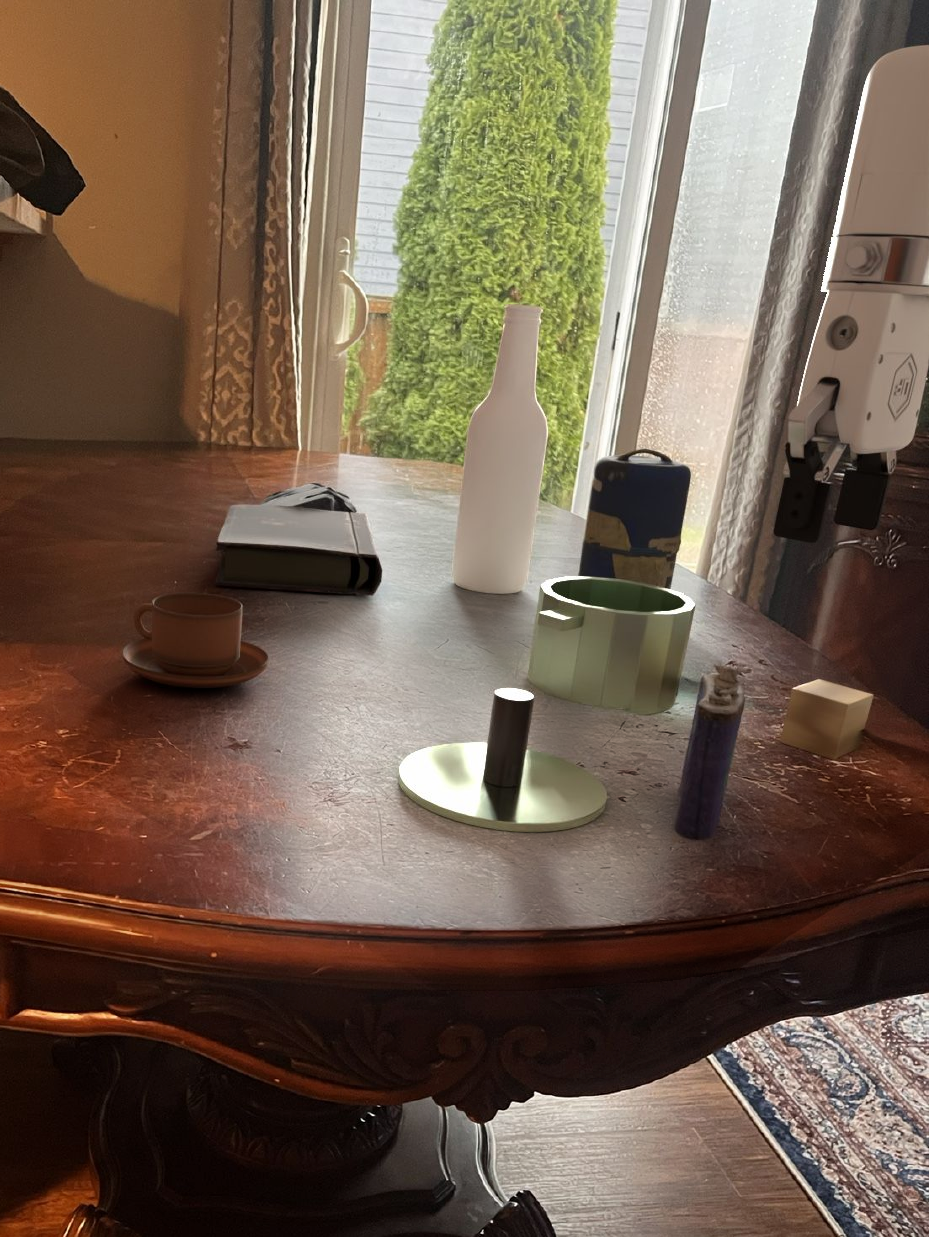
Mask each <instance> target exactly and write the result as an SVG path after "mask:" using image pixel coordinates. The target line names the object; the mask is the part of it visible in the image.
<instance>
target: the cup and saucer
mask: <svg viewBox="0 0 929 1237" xmlns="http://www.w3.org/2000/svg"><path fill="white" fill-rule="evenodd" d="M146 612H150V613H151V631H149V630H147V629H145V627H144V625H143V623H142V617H143V614H144V613H146ZM133 623H134V628H135V630H136V631H137V633H138V634H139V635H140V636H141V637H142V638H140V639H137V640H134V641H132V642H130V643H129V644H127V645H126V646H124V648H123V649H122V660H123V662H124V663H125V665H126V666H127V667H128V668H129V669H130V670H131V671H132V672H134V673H135V674H136V675H138V676H140V677H142V678H144V679H147V680H149V681H152V682H155V683H159V684H163V685H166V686H173V687H179V688H187V689H188V688H190V689H214V688H224V687H229V686H235V685H240V684H242V683H246V682H248V681H250V680H252V679H254V678H257V676H259V675H260V674H261V673H262V672H264V670H266V668H267V667H268V664H269V658H270V657H269V655H268V653H267V652H266V651H265V650H264V649H263V648H261V647H259V646H258V645H255V644H253V643H250V642H248V641H244V640H241V639H242V625H243V624H242V623H243V604H242V603H241V602H240V601H239V600H237V599H235V598H232V597H229V596H225V595H220V594H214V593H205V592H176V593H175V592H174V593H167V594H163V595H159V596H157V597H155V598H153V599H152V600H151V603H143V604H140V605H138V607H137V608H136V609H135V612H134V615H133Z"/></svg>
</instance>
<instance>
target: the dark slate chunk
mask: <svg viewBox="0 0 929 1237" xmlns="http://www.w3.org/2000/svg"><path fill="white" fill-rule="evenodd" d="M260 503H261V504H260V505H277V506H292V507H303V508H311V509H319V510H327V511H338V512H348V513H351V512H353V513H358V510H357V508H356V506H355V505H354V503H353V501H351V498H350V495H349V494H348V492H346V491H344V490H341V489H338V488H337V489H336V488H333V487H332V485H328V486H326V485H324V484H322V483H320V482H310V483H306V484H302V485H298V486H295V487H291V488H288V489H283V490H279V491H276V492H273V493H271V494H268V495H267V496H266V497H264V498H263V500H262V501H261V502H260Z"/></svg>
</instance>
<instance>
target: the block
mask: <svg viewBox="0 0 929 1237" xmlns="http://www.w3.org/2000/svg"><path fill="white" fill-rule="evenodd" d="M873 699H874V694H873V693H869V692H865V691H863V690H860V689H859V690H858V689H855V688H851V687H848V686H844V685H841V684H838V683H834V682H830V681H827V680H823V679H821V678H818V679H815V680H813V681H810V682H807V683H804V684H801V685H798V686H796V687H793V688H792V689H791V693H790V697H789V701H788V706H787V709H786V713H785V718H784V722H783V725H782V729H781V733H780V737H779V743H780V744H785V745H787V746H790V747H793V748H796V749H799V750H803V751H806V752H809V753H811V754H814V755H818V756H820V757H824V758H827V759H830V760H832V761H834V760H836V759H838V758H839V759H840V758H841V757H842V756H845V755H848V754H849V753H852V752H854V751H856V750H858V749H860V747H861V742H862V739H863V735H864V731H863V730H865V728H866V725H867V720H868V717H869V714H870V709H871V706H872V703H873Z"/></svg>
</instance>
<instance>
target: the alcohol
mask: <svg viewBox="0 0 929 1237" xmlns="http://www.w3.org/2000/svg"><path fill="white" fill-rule="evenodd" d="M504 311H505V313H504V316H503V317H502V322H503V327H502V333H501V337H500V343H499V347H498V351H497V352H498V353H497V358H496V362H495V368H494V373H493V379H492V384H491V387H490V389H489V390H488V391H489V392H488V394H487V396H486V397H485V398H484V399H483V400H482V401H481V402H480V404H478V406H476V408H475V409H474V411H473V412H472V415H471V417H470V420H469V423H468V426H467V432H466V441H465V449H464V450H465V451H464V458H463V468H462V475H461V484H460V493H459V501H458V503H459V504H458V509H457V510H458V512H457V518H456V519H457V520H456V528H455V538H454V547H453V555H452V562H451V572H450V575H451V578H452V579H453V582H454V584H455V585H456V586H457V587H459V588H462V589H464V590H469V591H472V592H478V593H483V594H484V593H485V594H495V595H498V594H499V595H507V594H514V593H515V594H516V593H519V592H520V591H522V590H523V588H525V586H526V585H527V583H528V578H529V571H530V565H531V564H530V563H531V556H532V551H533V543H534V538H535V537H534V536H535V529H536V523H537V515H538V508H539V501H540V493H541V486H542V480H543V473H544V466H545V458H546V451H547V444H548V439H549V438H548V436H549V429H548V419H547V416H546V414H545V412H544V410H543V408H542V406H541V405H540V403H539V402H538V399H537V393H536V383H537V382H536V379H537V364H538V350H539V349H538V347H539V333H540V332H539V331H540V329H539V328H540V326H541V324H542V319H541V314H542V313H543V308H542V307H541V306H539V305H526V304H511V303H507V304H506V305H505V306H504Z"/></svg>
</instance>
